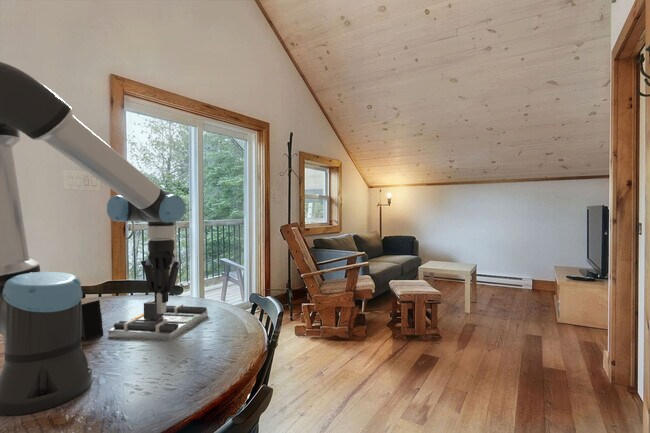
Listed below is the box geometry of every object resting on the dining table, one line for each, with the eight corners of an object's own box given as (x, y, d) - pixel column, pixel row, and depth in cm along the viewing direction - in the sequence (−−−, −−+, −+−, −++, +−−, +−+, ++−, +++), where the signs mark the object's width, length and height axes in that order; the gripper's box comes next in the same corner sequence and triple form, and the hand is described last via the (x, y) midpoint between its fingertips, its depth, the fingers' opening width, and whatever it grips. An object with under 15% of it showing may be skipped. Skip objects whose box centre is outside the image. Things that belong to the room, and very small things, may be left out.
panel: (169, 340, 92) (169, 332, 92) (108, 337, 94) (108, 329, 94) (207, 316, 114) (207, 309, 114) (157, 313, 116) (157, 307, 116)
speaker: (108, 335, 95) (104, 299, 96) (84, 342, 91) (80, 304, 91) (99, 331, 100) (96, 297, 100) (76, 338, 96) (73, 302, 96)
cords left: (172, 332, 93) (172, 326, 93) (112, 329, 95) (112, 322, 95) (180, 327, 97) (180, 321, 97) (122, 324, 99) (122, 318, 99)
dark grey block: (155, 319, 103) (155, 302, 103) (143, 318, 104) (143, 302, 104) (163, 315, 107) (163, 299, 107) (152, 315, 108) (152, 298, 108)
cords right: (202, 314, 110) (202, 308, 110) (151, 311, 112) (151, 306, 112) (208, 310, 114) (208, 305, 114) (158, 308, 116) (158, 303, 116)
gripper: (186, 238, 108) (186, 310, 108) (150, 237, 110) (150, 308, 110) (173, 240, 100) (173, 317, 101) (134, 239, 102) (134, 315, 102)
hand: (161, 312), depth 105 cm, fingers closed
